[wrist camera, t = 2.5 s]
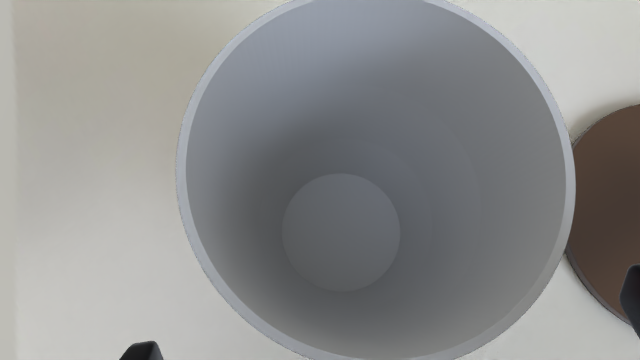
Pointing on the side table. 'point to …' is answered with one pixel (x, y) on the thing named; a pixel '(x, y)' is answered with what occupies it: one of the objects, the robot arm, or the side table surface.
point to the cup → (375, 179)
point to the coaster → (607, 206)
